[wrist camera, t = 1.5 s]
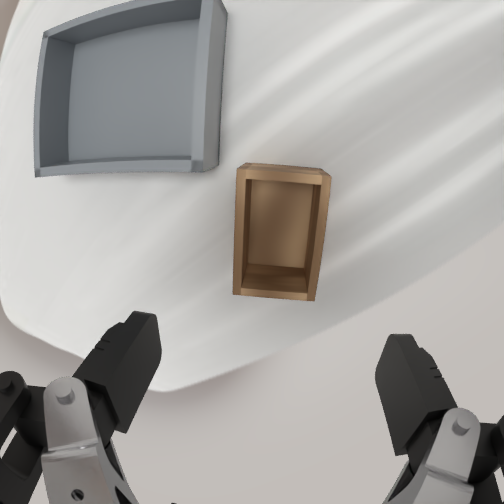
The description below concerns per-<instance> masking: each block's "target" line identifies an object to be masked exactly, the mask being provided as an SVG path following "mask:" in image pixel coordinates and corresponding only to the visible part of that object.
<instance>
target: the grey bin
mask: <svg viewBox="0 0 504 504" xmlns="http://www.w3.org/2000/svg"><path fill="white" fill-rule="evenodd" d="M226 25H227V11H226V9H225V7H224V5H223V3H222V1H221V0H134V1H130V2H126V3H122V4H118V5H115V6H111V7H108V8H105V9H101V10H98V11H95V12H92V13H89V14H87V15H84V16H81V17H78V18H76V19H73V20H70V21H68V22H65V23H63V24H61V25H58V26H56V27H54V28H51V29H49V30H47V31H45V32H44V33H43V38H42V44H41V50H40V56H39V63H38V71H37V79H36V90H35V104H34V169H35V177H45V176H57V175H71V174H88V173H112V172H205V171H207V170H209V169H211V168H214V167H216V166H218V165H219V141H220V118H221V99H222V81H223V65H224V51H225V37H226Z"/></svg>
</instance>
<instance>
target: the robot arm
mask: <svg viewBox="0 0 504 504" xmlns="http://www.w3.org/2000/svg"><path fill="white" fill-rule="evenodd" d="M161 354H162V349H161V342H160V336H159V329H158V322H157V317H156V315H155V314H151V313H145V312H139V311H133V312H132V313H131V315H130V316H129V317H128V319H127V320H126V321H125V323H121V322H119V323H118V324H116V325H114V326H113V327H111V328H110V329H108V330H107V331H106V333H105V334H104V335H103V336H102V338H101V340H100V341H99V342H98V343H97V344H96V345H95V348H94V349H92V351H91V352H90V353H89V355H88V356H87V357H86V359H85V360H84V361H83V363H82V364H81V365H80V367H79V368H78V369H77V371H76V372H75V373H74V375H73V376H72V377H61V378H58V379H56V380H54V381H52V382H51V383H50V384H49V385H48V386H47V387H38V386H29V385H26V383H25V381H24V379H23V377H22V376H21V375H20V374H19V373H17V372H14V371H6V372H3V373H1V374H0V449H1V447H2V445H3V443H4V442H5V440H6V438H7V437H8V435H9V433H10V432H11V430H12V428H13V427H14V428H15V430H16V431H17V433H16V434H15V436H14V438H13V439H12V441H11V443H10V444H9V446H8V448H7V450H6V451H5V453H4V455H3V457H2V459H1V458H0V504H28V503H29V501H30V498H31V496H32V493H33V491H34V489H35V487H36V485H37V482H38V480H39V478H40V476H41V473H42V472H43V475H44V480H45V485H46V490H47V495H48V499H49V504H139V503H138V501H137V500H136V498H135V496H134V494H133V493H132V491H131V489H130V487H129V485H128V483H127V480H126V478H125V475H124V473H123V470H122V467H121V465H120V462H119V459H118V456H117V453H116V450H115V448H114V445H113V441H112V439H111V436H112V434H113V432H114V430H116V431H119V432H122V433H127V431H128V429H129V427H130V424H131V422H132V420H133V418H134V416H135V413H136V412H137V409H138V407H139V405H140V403H141V401H142V399H143V397H144V395H145V393H146V391H147V389H148V387H149V384H150V382H151V380H152V378H153V376H154V374H155V372H156V370H157V368H158V366H159V364H160V360H161ZM375 381H376V385H377V389H378V392H379V395H380V399H381V402H382V406H383V410H384V413H385V417H386V421H387V424H388V428H389V432H390V436H391V440H392V444H393V448H394V452H395V456H398V455H404V454H408V457H409V460H408V461H407V462H406V464H405V466H404V468H403V469H402V471H401V473H400V475H399V477H398V478H397V480H396V482H395V484H394V486H393V487H392V489H391V491H390V493H389V494H388V496H387V497H386V499H385V501H384V502H383V503H382V504H504V502H503V503H502V500H501V496H500V492H499V489H498V485H497V482H496V478H495V475H494V472H495V471H496V470H497V469H499V468H500V467H501V469H502V473H503V476H504V415H503V416H502V418H501V419H500V420H499V422H498V423H497V424H490V423H479V420H478V419H477V417H476V416H475V415H474V414H473V413H472V412H470V411H469V410H466V409H464V408H458V407H457V404H456V402H455V401H454V398H453V396H452V394H451V392H450V390H449V388H448V386H447V384H446V382H445V380H444V378H442V374H441V373H440V371H439V369H437V365H436V363H435V361H434V359H433V358H432V356H431V355H430V354H428V353H427V352H426V351H425V350H424V349H423V348H419V347H418V345H417V343H416V341H415V340H414V338H413V336H412V335H411V334H391V335H390V336H389V337H388V339H387V341H386V344H385V347H384V349H383V352H382V355H381V357H380V360H379V362H378V365H377V367H376V372H375ZM171 504H175V503H171Z"/></svg>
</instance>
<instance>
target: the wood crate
mask: <svg viewBox="0 0 504 504" xmlns="http://www.w3.org/2000/svg"><path fill="white" fill-rule="evenodd" d="M330 186H331V176H330V175H329V174H327V173H326V172H325V171H323V170H322V169H318V168H308V167H298V166H286V165H273V164H258V163H245V164H243V165H242V166H240V167H239V168H237V175H236V200H235V229H234V262H233V295H244V296H255V297H266V298H278V299H290V300H303V301H315V295H316V289H317V283H318V277H319V270H320V264H321V257H322V250H323V243H324V236H325V229H326V221H327V213H328V204H329V196H330Z"/></svg>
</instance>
